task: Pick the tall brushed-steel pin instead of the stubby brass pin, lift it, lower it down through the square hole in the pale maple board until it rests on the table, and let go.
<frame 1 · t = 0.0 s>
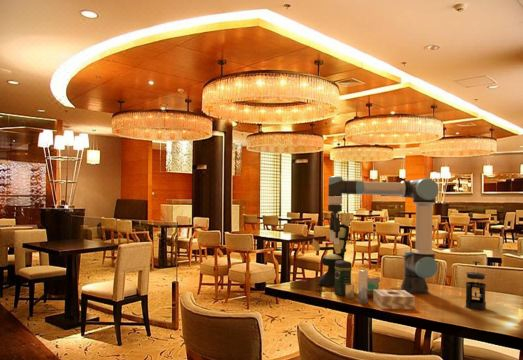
hand: (334, 243, 251), 28 cm above the table, fingers open, 13 cm apart
food container: (371, 296, 247), on the table
maple hole board: (393, 305, 227), on the table
dark tall irregular piece: (334, 284, 278), on the table
steel pin: (362, 302, 232), on the table
french press: (475, 308, 226), on the table
coffee jar: (342, 294, 250), on the table
brass pin: (349, 298, 241), on the table
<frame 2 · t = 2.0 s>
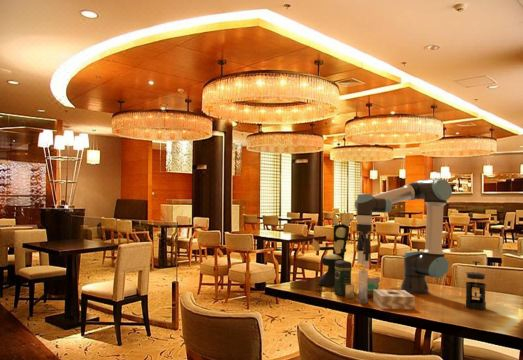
hand: (362, 265, 233), 19 cm above the table, fingers open, 13 cm apart
nothing on the table moved.
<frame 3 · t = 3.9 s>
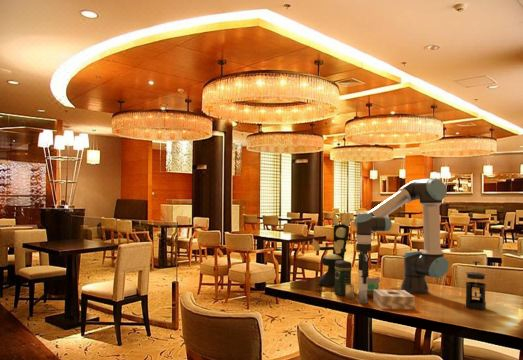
hand: (363, 289, 233), 7 cm above the table, fingers closed on steel pin, 4 cm apart
steel pin: (362, 302, 232), on the table, touching gripper
everything else where it was.
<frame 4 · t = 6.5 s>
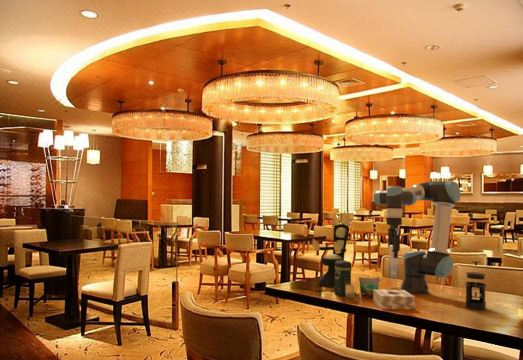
hand: (393, 263, 228), 21 cm above the table, fingers closed on steel pin, 4 cm apart
steel pin: (393, 277, 228), point 14 cm above the table, touching gripper
everything else where it was.
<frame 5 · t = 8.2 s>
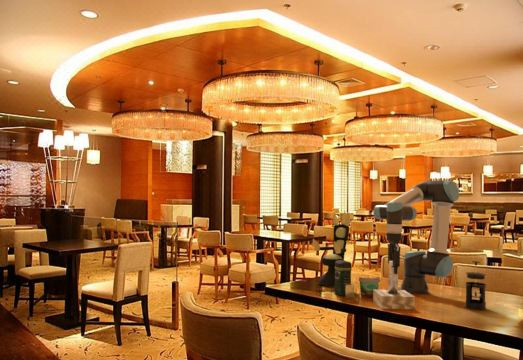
hand: (393, 279, 228), 13 cm above the table, fingers closed on steel pin, 4 cm apart
steel pin: (393, 293, 227), point 6 cm above the table, touching gripper
everything else where it was.
when the fingers open (8 cm above the table, at t = 9.6 s): steel pin drops 1 cm, resting in maple hole board.
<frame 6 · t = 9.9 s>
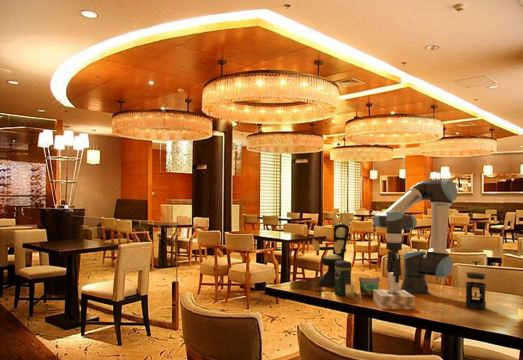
hand: (393, 287, 228), 9 cm above the table, fingers open, 9 cm apart
steel pin: (393, 305, 227), resting in maple hole board
everything else where it was.
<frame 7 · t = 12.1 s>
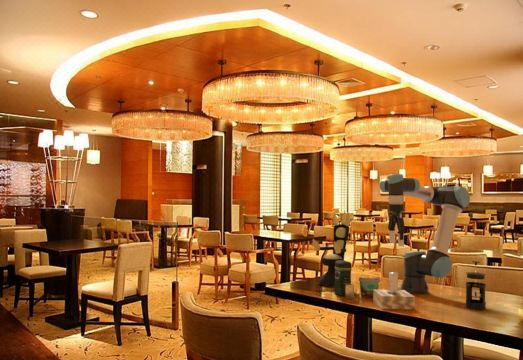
hand: (396, 244, 237), 29 cm above the table, fingers open, 13 cm apart
nothing on the table moved.
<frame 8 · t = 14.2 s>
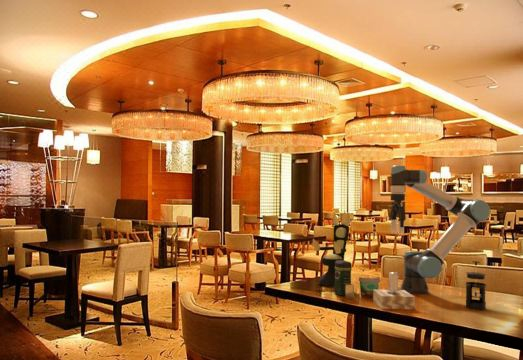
hand: (397, 232, 250), 35 cm above the table, fingers open, 13 cm apart
nothing on the table moved.
at the end: steel pin 0.0 cm off-centre on the maple hole board, point 0.0 cm above the maple hole board's base; steel pin tilted 0°; brass pin moved 0.0 cm from its start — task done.
